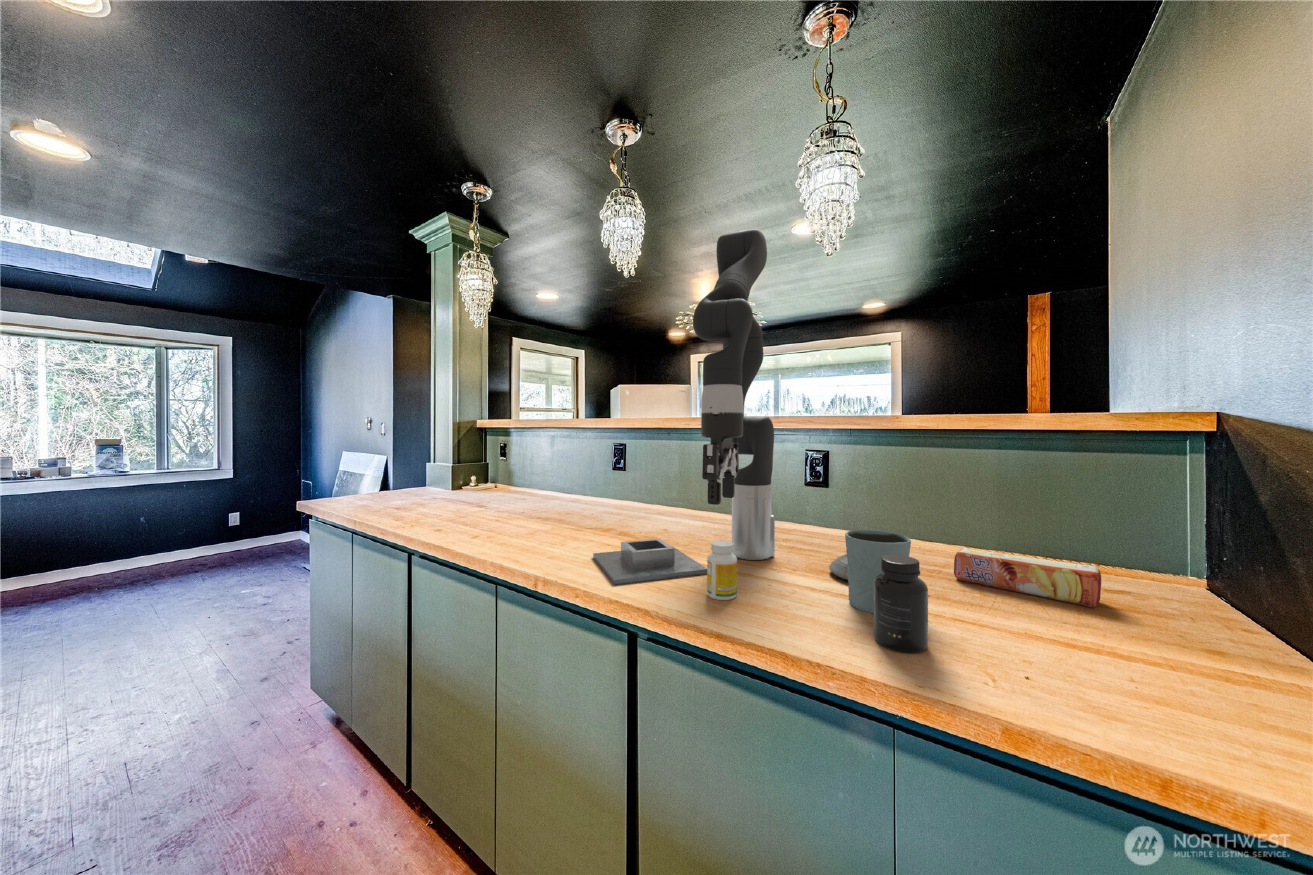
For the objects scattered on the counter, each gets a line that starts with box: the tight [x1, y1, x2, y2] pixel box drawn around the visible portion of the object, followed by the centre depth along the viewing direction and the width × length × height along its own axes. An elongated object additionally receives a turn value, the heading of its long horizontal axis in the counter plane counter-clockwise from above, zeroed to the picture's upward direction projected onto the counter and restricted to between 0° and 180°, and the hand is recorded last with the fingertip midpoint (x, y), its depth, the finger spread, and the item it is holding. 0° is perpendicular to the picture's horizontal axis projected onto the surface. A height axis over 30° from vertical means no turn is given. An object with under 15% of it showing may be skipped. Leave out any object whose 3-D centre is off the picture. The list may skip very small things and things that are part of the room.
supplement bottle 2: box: [873, 555, 929, 654], centre depth 65 cm, size 7×7×12 cm
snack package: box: [953, 547, 1102, 608], centre depth 86 cm, size 21×7×7 cm, turn 43°
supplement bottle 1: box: [706, 540, 738, 601], centre depth 83 cm, size 5×5×10 cm
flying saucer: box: [828, 553, 849, 581], centre depth 93 cm, size 15×15×6 cm
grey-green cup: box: [844, 529, 912, 615], centre depth 79 cm, size 10×10×12 cm
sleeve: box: [592, 538, 707, 586], centre depth 101 cm, size 20×20×4 cm
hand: (721, 500), depth 83 cm, fingers open, 8 cm apart
